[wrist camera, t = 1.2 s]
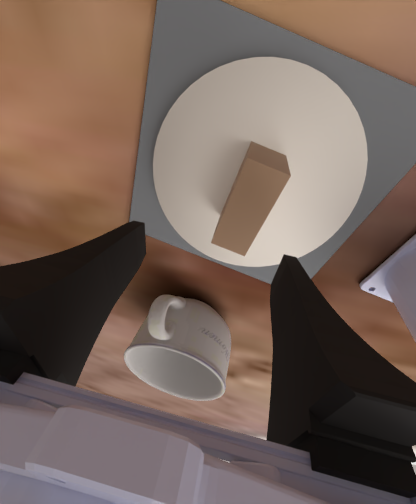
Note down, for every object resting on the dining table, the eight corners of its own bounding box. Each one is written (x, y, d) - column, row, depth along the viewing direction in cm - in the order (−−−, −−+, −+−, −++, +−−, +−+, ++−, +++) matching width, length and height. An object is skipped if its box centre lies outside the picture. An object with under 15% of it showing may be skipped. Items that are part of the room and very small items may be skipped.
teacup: (229, 347, 32) (220, 412, 26) (155, 331, 34) (129, 389, 27) (244, 273, 24) (235, 343, 18) (144, 255, 25) (103, 315, 19)
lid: (424, 117, 14) (484, 133, 10) (288, 282, 23) (292, 323, 19) (182, 11, 13) (147, -15, 9) (144, 225, 22) (119, 256, 18)
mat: (460, 107, 13) (464, 108, 13) (296, 291, 24) (296, 294, 24) (163, -24, 13) (160, -27, 12) (130, 225, 23) (128, 227, 23)
